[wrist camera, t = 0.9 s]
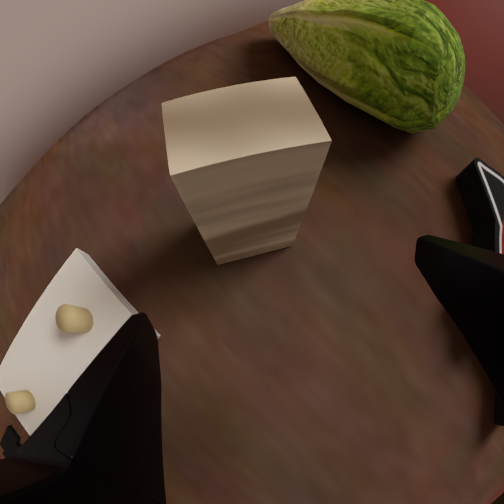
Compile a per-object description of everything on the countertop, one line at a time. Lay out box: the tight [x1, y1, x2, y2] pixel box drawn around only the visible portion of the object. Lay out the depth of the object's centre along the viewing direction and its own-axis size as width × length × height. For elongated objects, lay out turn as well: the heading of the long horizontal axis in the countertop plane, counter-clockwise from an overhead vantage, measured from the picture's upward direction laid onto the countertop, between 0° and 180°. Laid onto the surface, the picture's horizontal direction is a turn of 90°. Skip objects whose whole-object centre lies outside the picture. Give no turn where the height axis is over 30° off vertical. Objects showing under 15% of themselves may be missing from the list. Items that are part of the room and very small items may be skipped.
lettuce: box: [268, 0, 465, 133], centre depth 23 cm, size 15×24×16 cm
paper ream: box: [162, 77, 332, 265], centre depth 16 cm, size 4×6×13 cm
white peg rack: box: [0, 248, 161, 435], centre depth 17 cm, size 10×18×4 cm, turn 140°
